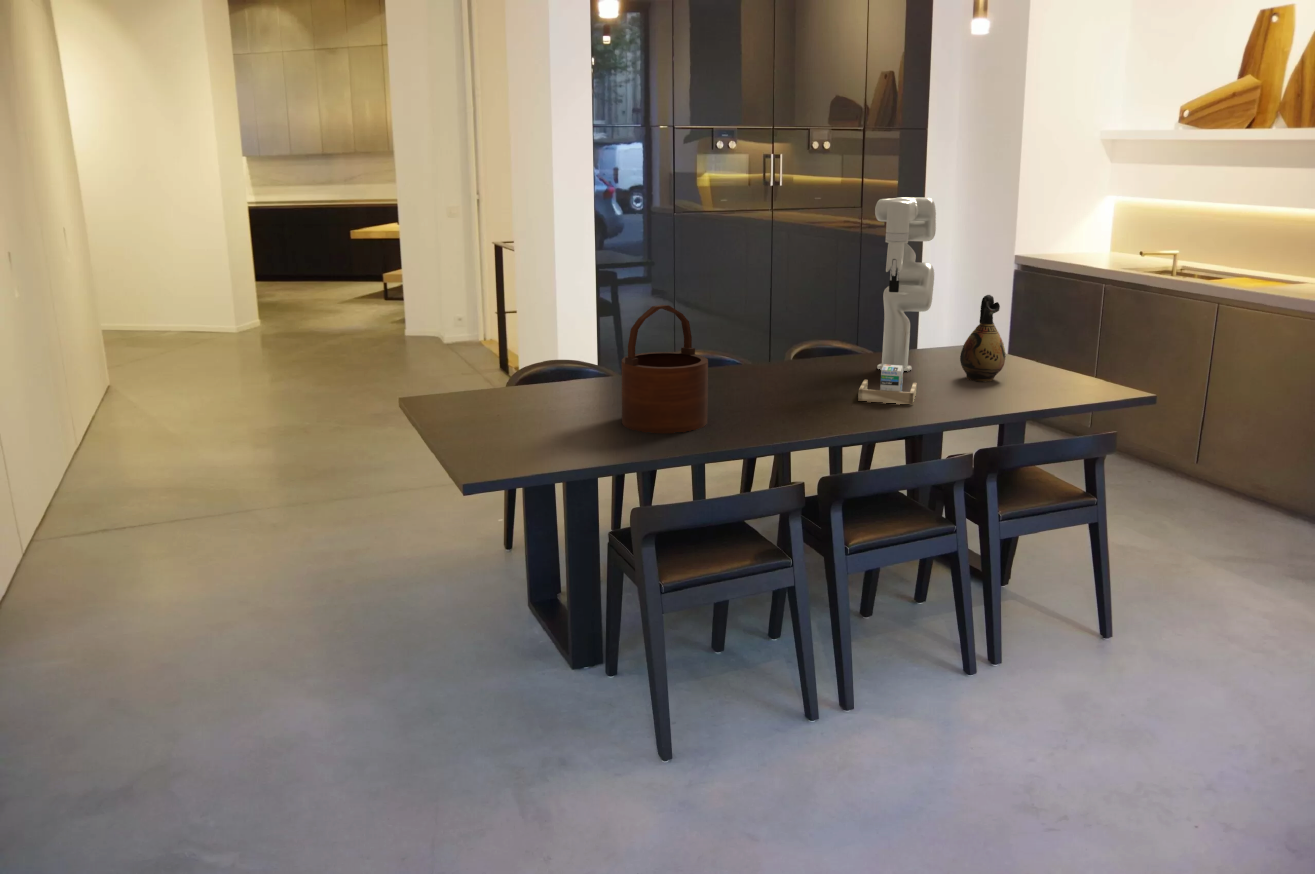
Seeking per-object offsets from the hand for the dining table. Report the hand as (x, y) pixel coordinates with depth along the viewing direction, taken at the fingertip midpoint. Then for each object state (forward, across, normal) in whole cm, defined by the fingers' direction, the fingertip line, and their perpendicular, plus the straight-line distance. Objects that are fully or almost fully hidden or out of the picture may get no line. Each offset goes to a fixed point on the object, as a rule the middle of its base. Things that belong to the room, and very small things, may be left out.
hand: (893, 292), depth 354 cm
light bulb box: (+32, +26, +3) cm, 41 cm away
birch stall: (+32, +24, +2) cm, 40 cm away
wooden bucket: (+32, +77, -59) cm, 102 cm away
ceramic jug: (+32, -17, +31) cm, 48 cm away
